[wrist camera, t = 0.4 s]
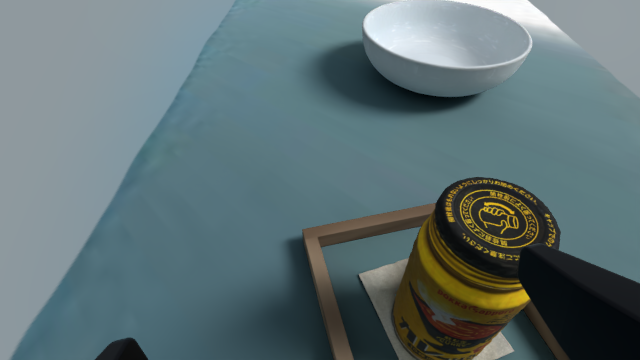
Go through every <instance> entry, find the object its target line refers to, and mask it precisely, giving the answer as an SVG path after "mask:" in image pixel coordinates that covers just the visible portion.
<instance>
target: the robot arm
mask: <svg viewBox="0 0 640 360" xmlns="http://www.w3.org/2000/svg"><path fill="white" fill-rule="evenodd" d="M517 275H518V279H519V282H520V283H521V285H522V287H523V288H524V290H525V292H526V293H527V295H528V296H529V298H530V300H531V301H532V303H533V305H534V306H535V308H536V309H537V311H538V313H539V314H540V316H541V317H542V319H543V321H544V322H545V324H546V325H547V327H548V329H549V330H550V332H551V333H552V335H553V337H554V338H555V340H556V341H557V343H558V344H559V345H560V347H561V348H562V350H563V351H564V352H565V354H566V355H567V356H568V358H569V359H570V360H640V283H638V282H635V281H633V280H630V279H628V278H625V277H623V276H621V275H618V274H616V273H613V272H611V271H608V270H606V269H603V268H601V267H598V266H596V265H594V264H591V263H589V262H586V261H584V260H581V259H579V258H576V257H574V256H571V255H569V254H567V253H564V252H562V251H559V250H557V249H554V248H552V247H549V246H547V245H544V244H541V243H537V244H533V245H528V246H524V247H523V248H522V249H521V251H520V256H519V263H518V270H517ZM95 360H148V358H147V357H146V355H145V354H144V352H143V351H142V349H141V348H140V346H139V345H138V343H137V342H136V340H135V339H133V338H125V339H121V340H117V341H114V342H112V343H110V344H109V345H108V346H107V347H106V348H105V349H104V350H103V352H102V353H101V354H100V355H99V356H98V357H97V358H96V359H95Z"/></svg>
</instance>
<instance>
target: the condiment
mask: <svg viewBox="0 0 640 360" xmlns="http://www.w3.org/2000/svg"><path fill="white" fill-rule="evenodd" d="M560 233H561V232H560V229H559V227H558V225H557V222H556V220H555V218H554V217H553V215H552V213H551V212H550V211H549V209H548V207H546V206H545V205H544V203H543V202H542V201H540V200H539V199H538V198H537V197H536V196H535V195H534V194H532V193H531V192H529V191H527V190H526V189H524V188H523V187H520V186H518V185H515V184H513V183H509V182H506V181H501V180H498V179H493V178H484V177H474V178H467V179H464V180H460V181H457V182H455V183H453V184H451V185H450V186H448V187H447V188H446V189H445V190H444V191H443V193H442V194H441V196H440V198H439V199H438V200H437V202H436V204H435V209H434V210H433V212H432V213H431V215H430V216H429V217H428V218H427V219H426V220H425V221H424V223H423V225H422V226H421V228H420V230H419V233H418V235H417V238H416V240H415V242H414V245H413V249H412V252H411V254H410V256H409V258H408V259H404V260H401V261H398V262H396V263H394V264H389V265H386V266H382V267H380V268H377V269H374V270H370V271H367V272H364V273H361V274H359V276H360V278H361V281H362V282H363V284H364V287H365V289H366V291H367V293H368V295H369V297H370V299H371V301H372V303H373V305H374V308H375V309H376V311H377V314H378V316H379V318H380V320H381V322H382V324H383V327H384V329H385V331H386V333H387V335H388V338H389V339H390V342H391V344H392V346H393V348H394V350H395V352H396V354H397V356H398V358H399V360H495V359H497V358H500V357H502V356H504V355H506V354H509V353H511V352H513V351H514V350H513V348H512V347H511V345H510V344H509V343H508V341H507V340H506V339H505V337H504V336H503V335H502V333H501V332H500V331H501V330H502V329H504V327H505V326H506V325H507V323H509V321H510V320H511V319H512V318H513V317H514V316H515V315H516V314H517V313H519V312H520V310H522V309H523V308H524V307H525V306H526V305H527V304H528V303H529V302H530V301H531V300H530V298H529V296H528V295H527V293H526V292H525V290H524V288H523V287H522V285H521V283H520V282H519V279H518V275H517V270H518V263H519V256H520V251H521V249H522V248H523V247H524V246H528V245H533V244H537V243H541V244H544V245H547V246H549V247H552V248H554V249H557V250H559V242H560ZM396 288H397V291H396ZM395 294H396V296H395Z"/></svg>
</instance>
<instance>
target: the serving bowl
mask: <svg viewBox="0 0 640 360" xmlns="http://www.w3.org/2000/svg"><path fill="white" fill-rule="evenodd" d="M362 36H363V44H364V48H365V51H366V54H367V56H368V58H369V60H370V62H371V63H372V65H373V66H374V67H375V68H376V70H377V71H378V72H379V73H380V74H382V75H383V76H384V77H385V78H387V79H388V80H389V81H391V82H393V83H394V84H396V85H398V86H400V87H403V88H405V89H408V90H411V91H414V92H417V93H421V94H426V95H432V96H442V97H459V96H468V95H473V94H477V93H481V92H484V91H487V90H489V89H491V88H494V87H495V86H497V85H499V84H501V83H502V82H504V81H505V80H507V79H508V78H509V77H510V76H511V75H513V74H514V73H515V72H516V71H517V69H518V68H519V67H520V66H521V64H522V63H523V62H524V60H525V59H526V57H527V55H528V54H529V52H530V50H531V48H532V39H531V36H530V34H529V33H528V32H527V30H526V29H525V28H524V27H523V26H522V25H520V24H519V23H518V22H516V21H514V20H513V19H511V18H509V17H507V16H505V15H503V14H501V13H498V12H496V11H493V10H490V9H487V8H483V7H480V6H476V5H471V4H467V3H461V2H454V1H446V0H405V1H398V2H393V3H389V4H385V5H382V6H380V7H377V8H375V9H373V10H372V11H370V12H369V13H368V14H367V15H366V16H365V18H364V20H363V23H362Z"/></svg>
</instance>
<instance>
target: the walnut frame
mask: <svg viewBox="0 0 640 360" xmlns="http://www.w3.org/2000/svg"><path fill="white" fill-rule="evenodd" d="M435 204H436V203H433V204H428V205H423V206H418V207H413V208H408V209H403V210H398V211H393V212H388V213H383V214H378V215H372V216H367V217H362V218H357V219H352V220H347V221H342V222H337V223H332V224H327V225H322V226H317V227H312V228H307V229H302V231H303V242H304V246H305V250H306V254H307V258H308V262H309V266H310V269H311V273H312V277H313V281H314V285H315V289H316V293H317V297H318V301H319V305H320V308H321V312H322V316H323V320H324V324H325V328H326V332H327V336H328V340H329V344H330V347H331V351H332V355H333V359H334V360H354V359H353V356H352V352H351V349H350V346H349V342H348V339H347V335H346V332H345V329H344V325H343V322H342V318H341V315H340V312H339V308H338V305H337V301H336V298H335V295H334V291H333V288H332V284H331V281H330V278H329V274H328V271H327V268H326V264H325V261H324V257H323V254H322V251H321V247H323V246H328V245H333V244H337V243H342V242H347V241H352V240H357V239H361V238H366V237H371V236H376V235H380V234H385V233H390V232H395V231H400V230H404V229H409V228H414V227H419V226H422V225H423V223H424V221H425V220H426V219H427V218H428V217H429V216H430V215H431V213H432V212H433V210H434V209H435ZM523 310H524V311H525V313H526V314H527V316H528V317H529V319H530V320H531V322H532V323H533V325H534V326H535V328H536V329H537V330H538V332H539V333H540V335H541V336H542V338H543V339H544V341H545V342H546V344H547V345H548V347H549V348H550V349H551V351H552V352H553V354H554V355H555V357H556V358H557V360H570V359H569V358H568V356H567V355H566V354H565V352H564V351H563V350H562V348H561V347H560V345H559V344H558V343H557V341H556V340H555V338H554V337H553V335H552V333H551V332H550V330H549V329H548V327H547V325H546V324H545V322H544V321H543V319H542V317H541V316H540V314H539V313H538V311H537V309H536V308H535V306H534V305H533V303H532V301H530V302H529V303H528V304H527V305H526V306H525V307H524V308H523Z"/></svg>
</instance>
